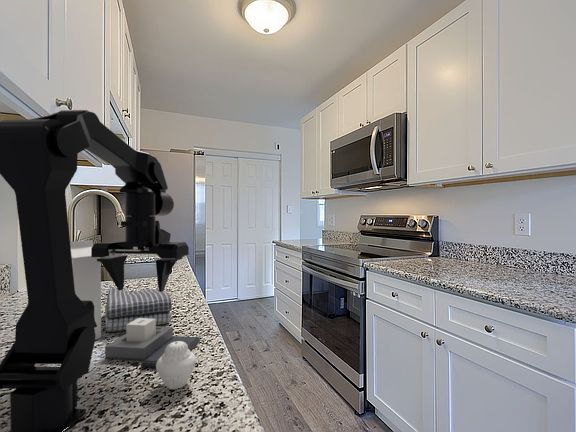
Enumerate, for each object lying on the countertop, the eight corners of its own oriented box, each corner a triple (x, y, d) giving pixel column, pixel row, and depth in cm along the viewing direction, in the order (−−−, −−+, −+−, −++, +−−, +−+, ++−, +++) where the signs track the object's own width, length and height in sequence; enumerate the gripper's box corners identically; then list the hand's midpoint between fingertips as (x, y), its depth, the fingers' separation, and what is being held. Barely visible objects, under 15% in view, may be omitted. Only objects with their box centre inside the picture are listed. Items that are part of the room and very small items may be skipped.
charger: (144, 350, 61) (144, 325, 61) (126, 349, 62) (126, 324, 62) (155, 341, 65) (155, 318, 65) (138, 341, 66) (138, 317, 66)
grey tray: (144, 360, 58) (143, 347, 58) (105, 358, 58) (105, 345, 58) (172, 337, 68) (172, 326, 68) (139, 336, 69) (139, 325, 69)
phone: (172, 369, 54) (172, 363, 54) (141, 367, 55) (141, 361, 55) (199, 341, 66) (199, 336, 66) (173, 340, 67) (173, 335, 67)
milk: (57, 343, 66) (55, 241, 66) (85, 333, 71) (84, 239, 71) (73, 348, 63) (72, 242, 63) (102, 337, 69) (100, 240, 69)
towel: (104, 337, 69) (104, 303, 69) (104, 315, 85) (104, 287, 85) (174, 325, 77) (174, 294, 77) (162, 306, 93) (162, 281, 93)
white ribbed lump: (192, 370, 54) (192, 331, 54) (199, 388, 48) (199, 344, 48) (154, 379, 51) (154, 338, 51) (157, 399, 45) (157, 352, 45)
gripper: (199, 215, 70) (199, 283, 70) (125, 216, 73) (125, 281, 73) (175, 216, 59) (175, 296, 59) (88, 216, 62) (89, 293, 62)
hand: (141, 290), depth 63 cm, fingers open, 9 cm apart
